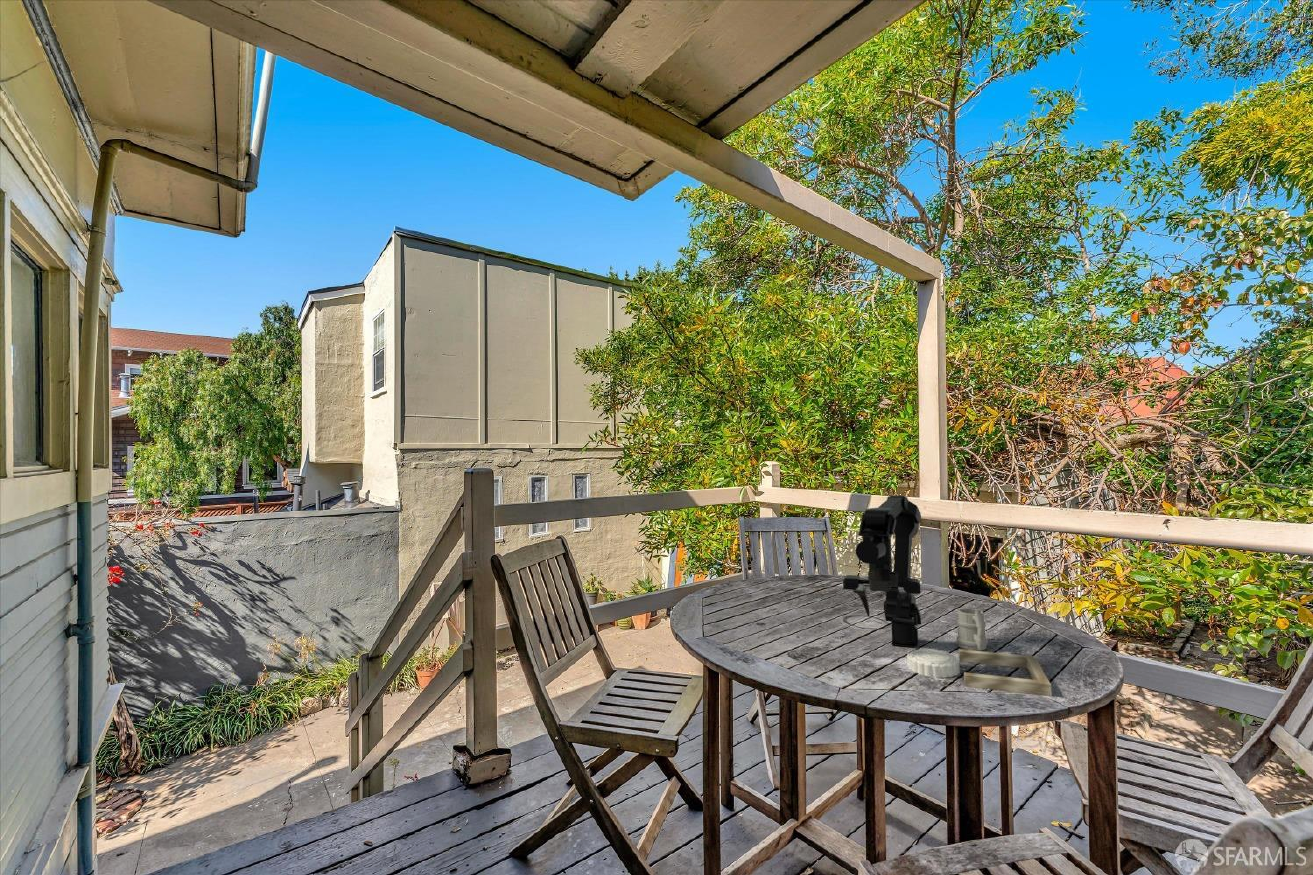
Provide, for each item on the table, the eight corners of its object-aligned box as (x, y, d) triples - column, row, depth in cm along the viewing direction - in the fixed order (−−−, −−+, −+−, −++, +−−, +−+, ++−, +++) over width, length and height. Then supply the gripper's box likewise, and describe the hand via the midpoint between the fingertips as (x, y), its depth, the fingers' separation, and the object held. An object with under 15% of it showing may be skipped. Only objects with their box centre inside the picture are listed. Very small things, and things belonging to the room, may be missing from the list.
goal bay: (965, 685, 135) (964, 675, 135) (959, 658, 152) (958, 649, 152) (1051, 696, 128) (1051, 684, 128) (1035, 666, 145) (1034, 656, 146)
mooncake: (944, 660, 152) (944, 646, 152) (969, 677, 140) (968, 662, 140) (899, 661, 152) (898, 648, 152) (920, 679, 140) (919, 664, 140)
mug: (981, 642, 164) (979, 599, 165) (999, 656, 153) (996, 611, 153) (952, 641, 166) (950, 599, 166) (968, 656, 154) (966, 611, 154)
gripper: (839, 561, 148) (842, 622, 148) (919, 564, 141) (922, 629, 140) (844, 553, 158) (846, 611, 158) (918, 556, 151) (921, 616, 150)
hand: (882, 616), depth 151 cm, fingers open, 7 cm apart
